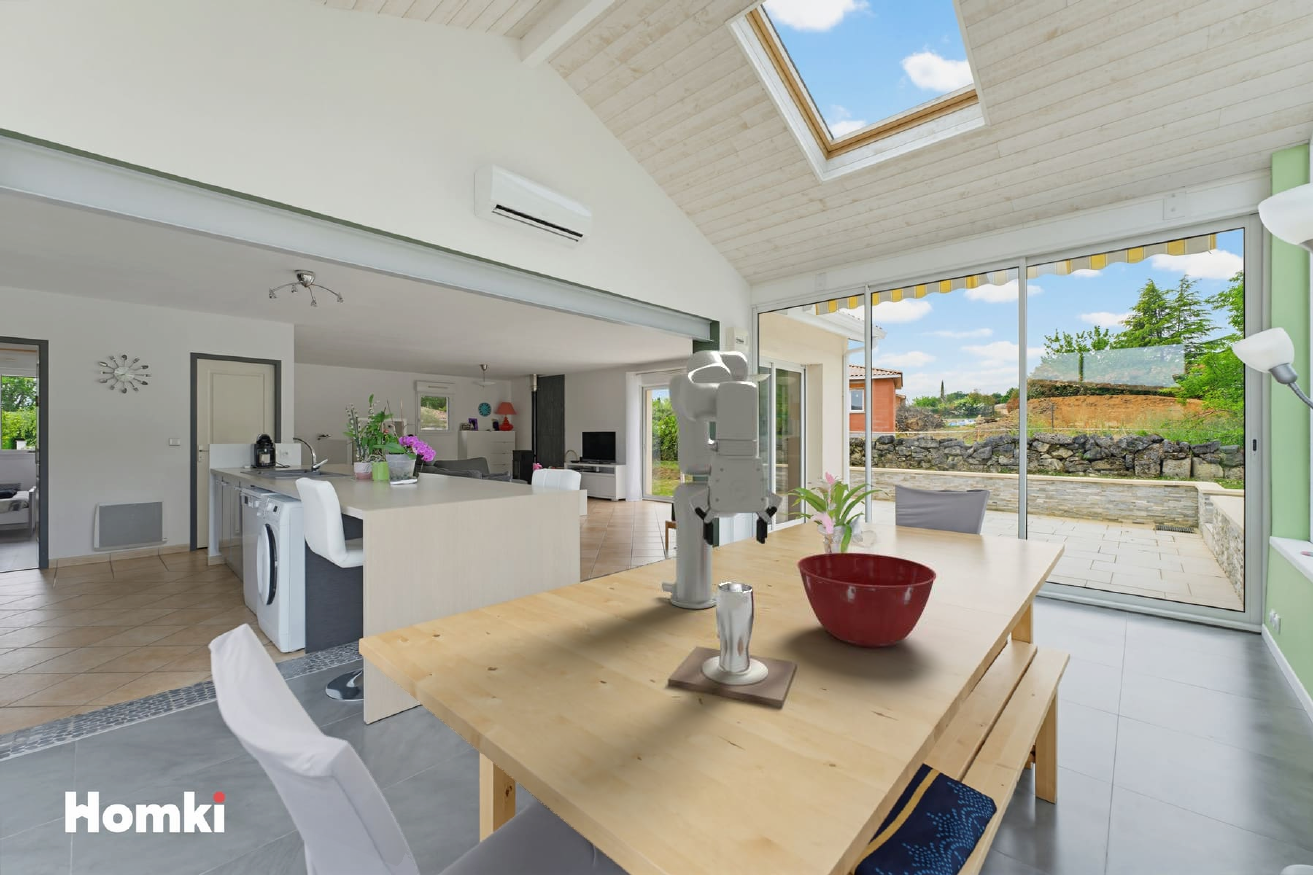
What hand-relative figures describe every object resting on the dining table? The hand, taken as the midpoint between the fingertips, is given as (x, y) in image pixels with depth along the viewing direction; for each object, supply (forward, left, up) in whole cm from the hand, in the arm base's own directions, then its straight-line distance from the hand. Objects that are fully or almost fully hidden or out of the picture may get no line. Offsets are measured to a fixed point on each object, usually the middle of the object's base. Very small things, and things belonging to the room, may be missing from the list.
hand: (735, 542), depth 101 cm
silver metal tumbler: (0, 0, -23) cm, 23 cm away
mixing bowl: (+21, +31, -25) cm, 45 cm away
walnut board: (0, 0, -25) cm, 25 cm away
